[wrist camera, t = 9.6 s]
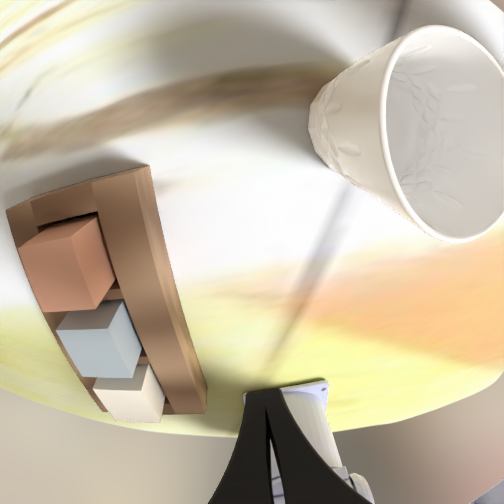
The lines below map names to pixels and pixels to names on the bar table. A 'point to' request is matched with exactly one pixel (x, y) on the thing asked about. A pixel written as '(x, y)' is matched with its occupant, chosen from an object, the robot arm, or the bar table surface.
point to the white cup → (420, 131)
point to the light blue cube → (102, 340)
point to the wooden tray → (128, 276)
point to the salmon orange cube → (69, 265)
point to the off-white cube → (133, 396)
